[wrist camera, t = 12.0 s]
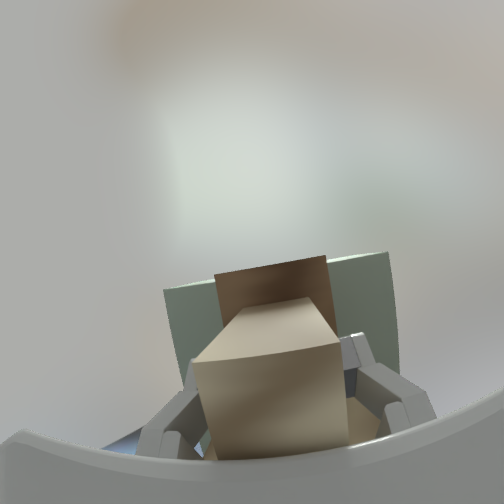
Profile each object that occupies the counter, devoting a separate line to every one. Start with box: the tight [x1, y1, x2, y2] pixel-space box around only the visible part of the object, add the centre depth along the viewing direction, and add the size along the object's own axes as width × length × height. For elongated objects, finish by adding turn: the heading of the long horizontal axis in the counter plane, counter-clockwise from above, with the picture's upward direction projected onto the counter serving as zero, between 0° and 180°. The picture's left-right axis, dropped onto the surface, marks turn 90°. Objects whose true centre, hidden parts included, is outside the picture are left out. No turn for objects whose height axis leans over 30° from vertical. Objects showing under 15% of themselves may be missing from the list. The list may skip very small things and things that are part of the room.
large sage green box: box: [163, 252, 400, 455], centre depth 30 cm, size 20×12×26 cm, turn 84°
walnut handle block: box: [192, 255, 349, 460], centre depth 14 cm, size 6×16×6 cm, turn 174°
